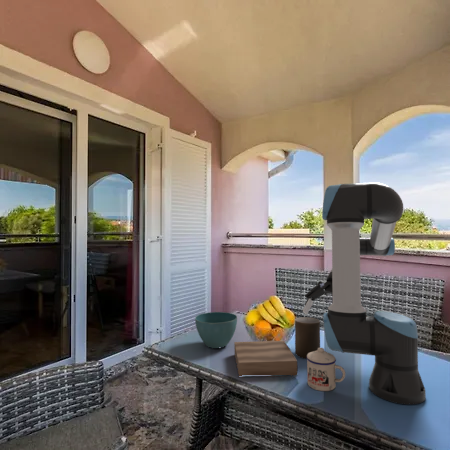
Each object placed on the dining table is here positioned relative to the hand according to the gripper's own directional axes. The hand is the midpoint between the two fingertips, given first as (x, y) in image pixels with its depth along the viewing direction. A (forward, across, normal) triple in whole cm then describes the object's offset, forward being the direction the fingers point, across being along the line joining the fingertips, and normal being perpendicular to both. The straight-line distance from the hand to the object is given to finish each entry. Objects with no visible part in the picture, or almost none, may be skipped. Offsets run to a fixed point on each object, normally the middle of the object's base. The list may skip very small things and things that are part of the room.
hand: (317, 316), depth 134 cm
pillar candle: (+15, -1, -4) cm, 16 cm away
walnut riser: (+29, +4, +10) cm, 31 cm away
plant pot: (+31, +30, +11) cm, 45 cm away
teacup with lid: (+27, -21, +7) cm, 35 cm away
